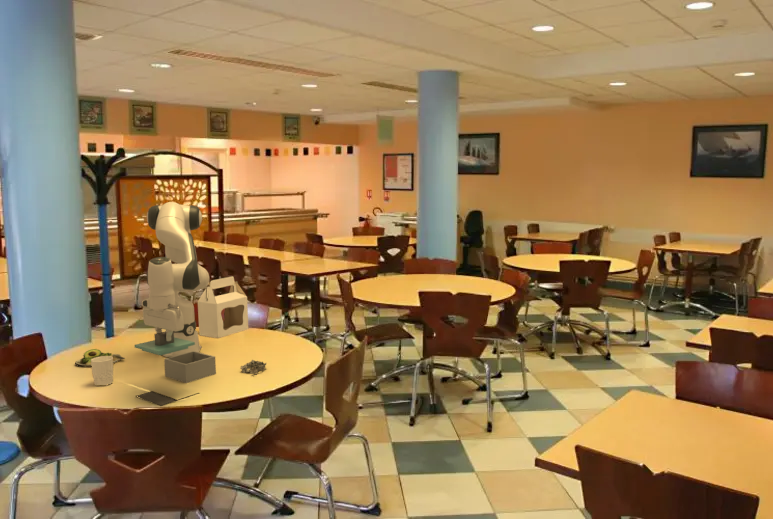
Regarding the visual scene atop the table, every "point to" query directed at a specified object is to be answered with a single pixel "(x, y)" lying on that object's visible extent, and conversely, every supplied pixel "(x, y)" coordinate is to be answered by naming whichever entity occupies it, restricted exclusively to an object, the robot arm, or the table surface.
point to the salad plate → (93, 354)
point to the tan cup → (102, 370)
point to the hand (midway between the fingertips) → (164, 339)
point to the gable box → (213, 306)
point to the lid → (164, 344)
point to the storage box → (190, 366)
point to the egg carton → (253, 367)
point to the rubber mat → (159, 398)
